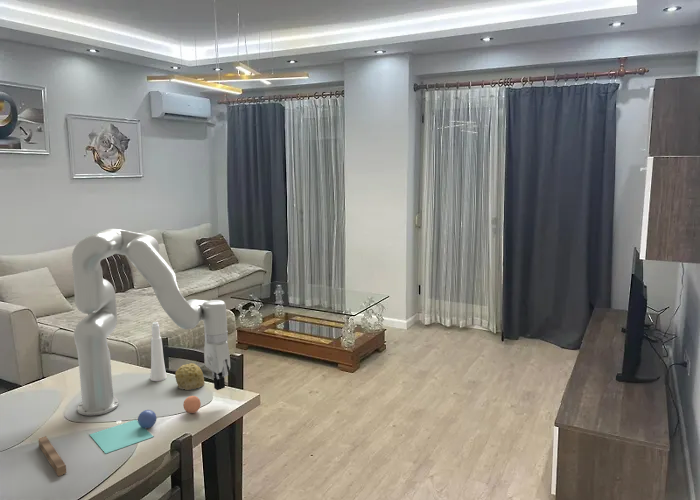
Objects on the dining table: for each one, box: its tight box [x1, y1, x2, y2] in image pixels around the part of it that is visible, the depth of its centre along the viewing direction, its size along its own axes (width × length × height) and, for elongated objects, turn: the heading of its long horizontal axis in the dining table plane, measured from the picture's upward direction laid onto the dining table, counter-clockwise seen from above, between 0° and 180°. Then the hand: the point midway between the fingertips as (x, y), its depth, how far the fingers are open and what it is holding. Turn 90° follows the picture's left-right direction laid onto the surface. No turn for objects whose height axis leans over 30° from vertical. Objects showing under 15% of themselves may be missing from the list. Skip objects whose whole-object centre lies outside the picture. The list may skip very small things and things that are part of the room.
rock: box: [174, 362, 206, 391], centre depth 198 cm, size 10×11×10 cm
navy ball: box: [137, 409, 158, 429], centre depth 168 cm, size 6×6×6 cm
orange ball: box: [183, 395, 202, 414], centre depth 178 cm, size 6×6×6 cm
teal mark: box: [89, 419, 155, 454], centre depth 163 cm, size 14×14×1 cm
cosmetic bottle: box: [149, 321, 168, 382], centre depth 203 cm, size 6×6×22 cm
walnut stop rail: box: [37, 435, 67, 477], centre depth 150 cm, size 20×2×2 cm, turn 42°
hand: (219, 388), depth 183 cm, fingers closed
